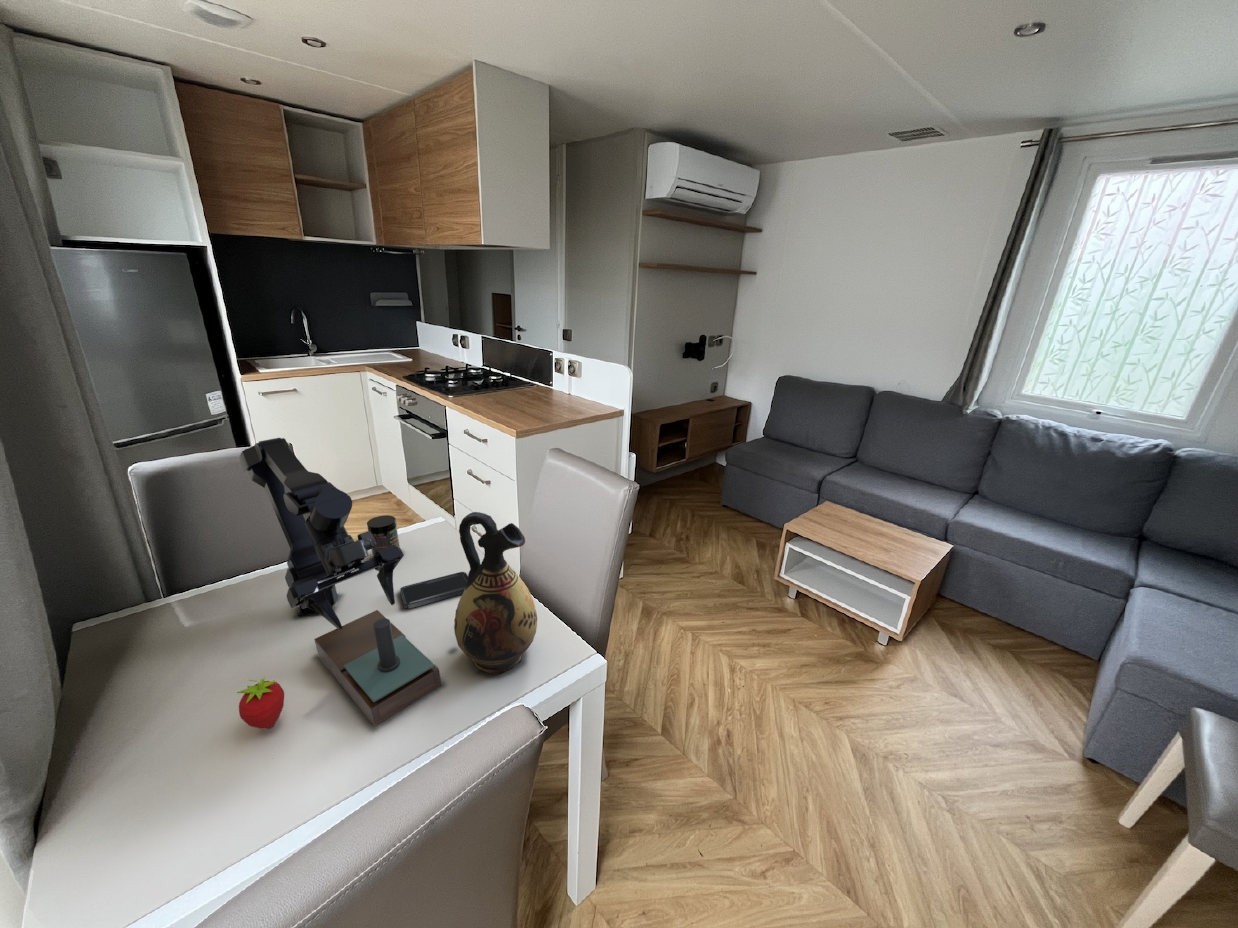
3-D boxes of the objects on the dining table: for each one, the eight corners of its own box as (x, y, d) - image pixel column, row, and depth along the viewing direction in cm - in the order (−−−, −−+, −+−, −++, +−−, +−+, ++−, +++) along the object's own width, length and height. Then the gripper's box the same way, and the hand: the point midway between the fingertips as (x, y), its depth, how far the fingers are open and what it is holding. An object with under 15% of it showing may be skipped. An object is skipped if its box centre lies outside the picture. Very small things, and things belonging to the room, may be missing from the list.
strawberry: (244, 753, 76) (227, 703, 72) (251, 716, 82) (236, 669, 79) (289, 738, 78) (275, 689, 75) (293, 703, 85) (280, 657, 81)
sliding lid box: (318, 656, 95) (314, 638, 94) (380, 626, 104) (377, 609, 102) (374, 726, 81) (370, 707, 79) (441, 684, 89) (438, 666, 88)
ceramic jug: (551, 637, 102) (546, 506, 91) (517, 693, 88) (507, 546, 77) (477, 621, 106) (465, 494, 95) (434, 672, 92) (414, 530, 82)
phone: (472, 587, 115) (404, 605, 108) (473, 591, 116) (405, 609, 109) (464, 570, 122) (399, 586, 115) (465, 574, 122) (400, 591, 115)
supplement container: (403, 548, 133) (398, 514, 130) (398, 562, 127) (392, 526, 123) (376, 551, 132) (370, 516, 128) (370, 564, 126) (363, 528, 122)
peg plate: (343, 667, 87) (334, 623, 83) (402, 636, 94) (396, 595, 91) (373, 702, 80) (364, 656, 76) (434, 666, 87) (428, 622, 84)
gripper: (276, 542, 78) (317, 630, 76) (391, 505, 92) (429, 579, 89) (271, 567, 86) (308, 647, 83) (378, 529, 99) (413, 597, 96)
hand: (368, 616), depth 88 cm, fingers open, 9 cm apart
